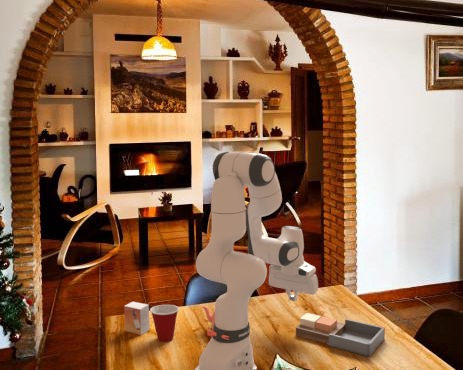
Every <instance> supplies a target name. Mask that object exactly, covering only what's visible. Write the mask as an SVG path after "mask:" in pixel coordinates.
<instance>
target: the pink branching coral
mask: <svg viewBox="0 0 463 370" xmlns="http://www.w3.org/2000/svg"><path fill="white" fill-rule="evenodd" d="M200 308H202V309H204V311H205V314H206V319H207V321H208V322H210V323H211V330H212V331H213V327H214V323H215V308H214V310H213V313H212V314H211V312H210V310H209V307H208V306H206V305H200Z"/></svg>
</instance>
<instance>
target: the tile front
mask: <svg viewBox="0 0 463 370" xmlns="http://www.w3.org/2000/svg"><path fill="white" fill-rule="evenodd" d="M337 322H338V319H334V318H330V317H326V316H322V315H321V318H320V319H319V320H318V321H316V329H320V330H324V331H328V332H331V331H332V330H333V329H335V328H336V327H337Z"/></svg>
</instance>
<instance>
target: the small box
mask: <svg viewBox="0 0 463 370" xmlns="http://www.w3.org/2000/svg"><path fill="white" fill-rule="evenodd" d="M123 308H124V309H123V310H124V311H123V312H124V313H123V314H124V315H123V316H124V331H125V332H126V333H127V332H128V333H132V334H136V335H140V336H142V335H143V334H145V333H147V332H148V331H149V330H150V329H151V328H150V304H147V303H141V302H137V301H131V302H128V303H127V304H125V305H123Z"/></svg>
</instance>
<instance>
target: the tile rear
mask: <svg viewBox="0 0 463 370" xmlns="http://www.w3.org/2000/svg"><path fill="white" fill-rule="evenodd" d="M321 317H322V315H318V314H315V313H309V312H306V313H305V314H303V315H302V316H301V317H300V318H299V325H304V326H308V327H312V328H315V327H316V321H318V320H319V319H320V318H321Z"/></svg>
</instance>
